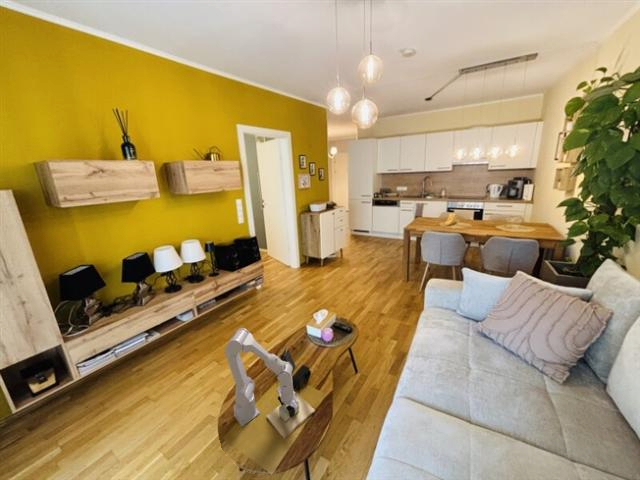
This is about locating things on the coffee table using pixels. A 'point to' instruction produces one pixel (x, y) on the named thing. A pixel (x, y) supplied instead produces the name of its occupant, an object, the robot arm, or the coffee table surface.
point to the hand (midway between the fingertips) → (288, 412)
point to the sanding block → (285, 412)
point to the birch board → (295, 421)
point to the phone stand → (288, 358)
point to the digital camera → (301, 377)
